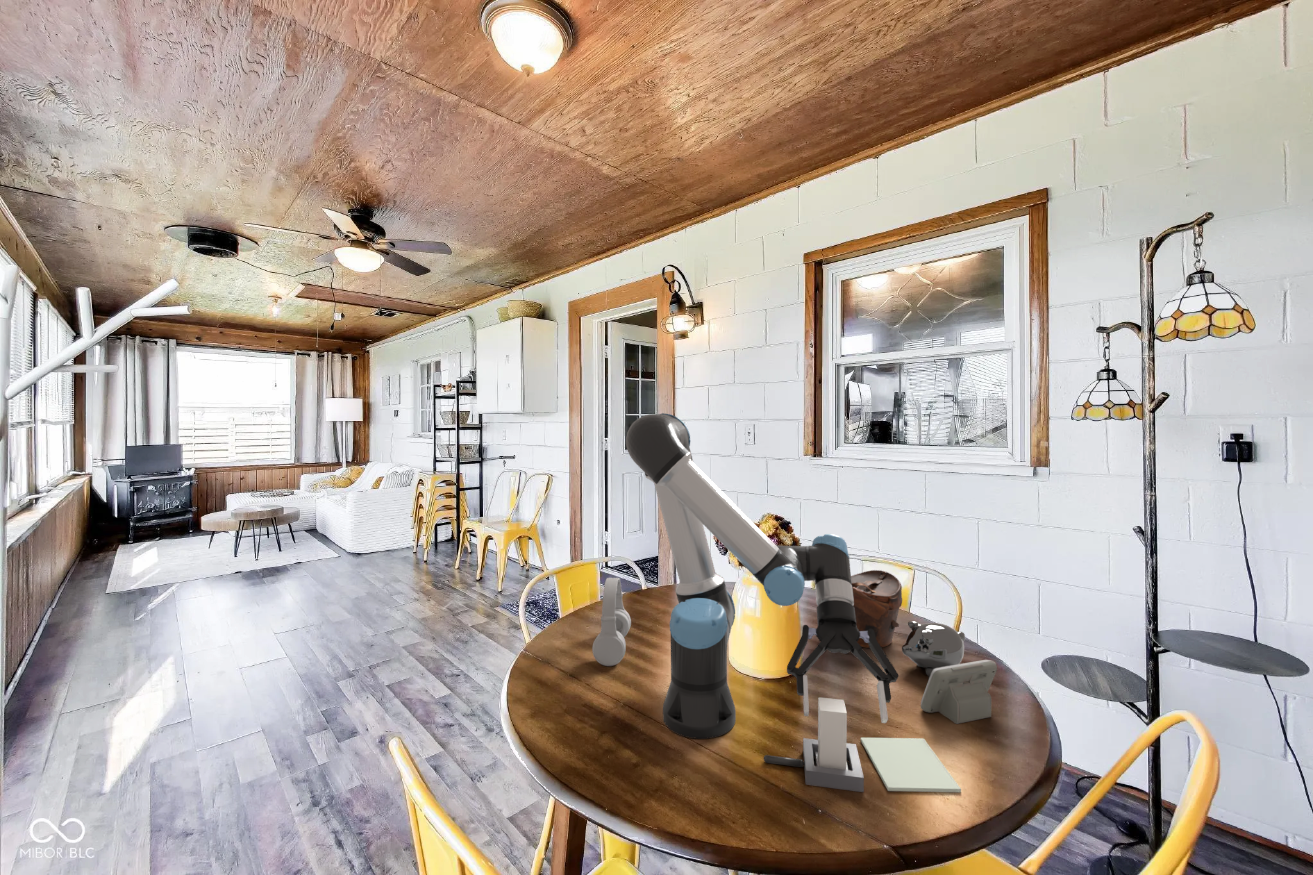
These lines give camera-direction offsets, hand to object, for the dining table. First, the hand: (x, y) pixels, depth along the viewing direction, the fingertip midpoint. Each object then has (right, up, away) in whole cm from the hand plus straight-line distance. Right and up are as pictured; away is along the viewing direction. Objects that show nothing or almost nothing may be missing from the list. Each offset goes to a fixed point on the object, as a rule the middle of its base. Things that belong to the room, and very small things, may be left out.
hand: (845, 717), depth 100 cm
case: (+24, -5, +52) cm, 58 cm away
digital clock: (+30, -7, +17) cm, 35 cm away
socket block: (-7, -8, -2) cm, 11 cm away
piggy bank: (+33, -6, +34) cm, 48 cm away
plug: (-3, -8, -2) cm, 9 cm away
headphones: (-46, -6, +47) cm, 66 cm away
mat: (+11, -8, -1) cm, 13 cm away
